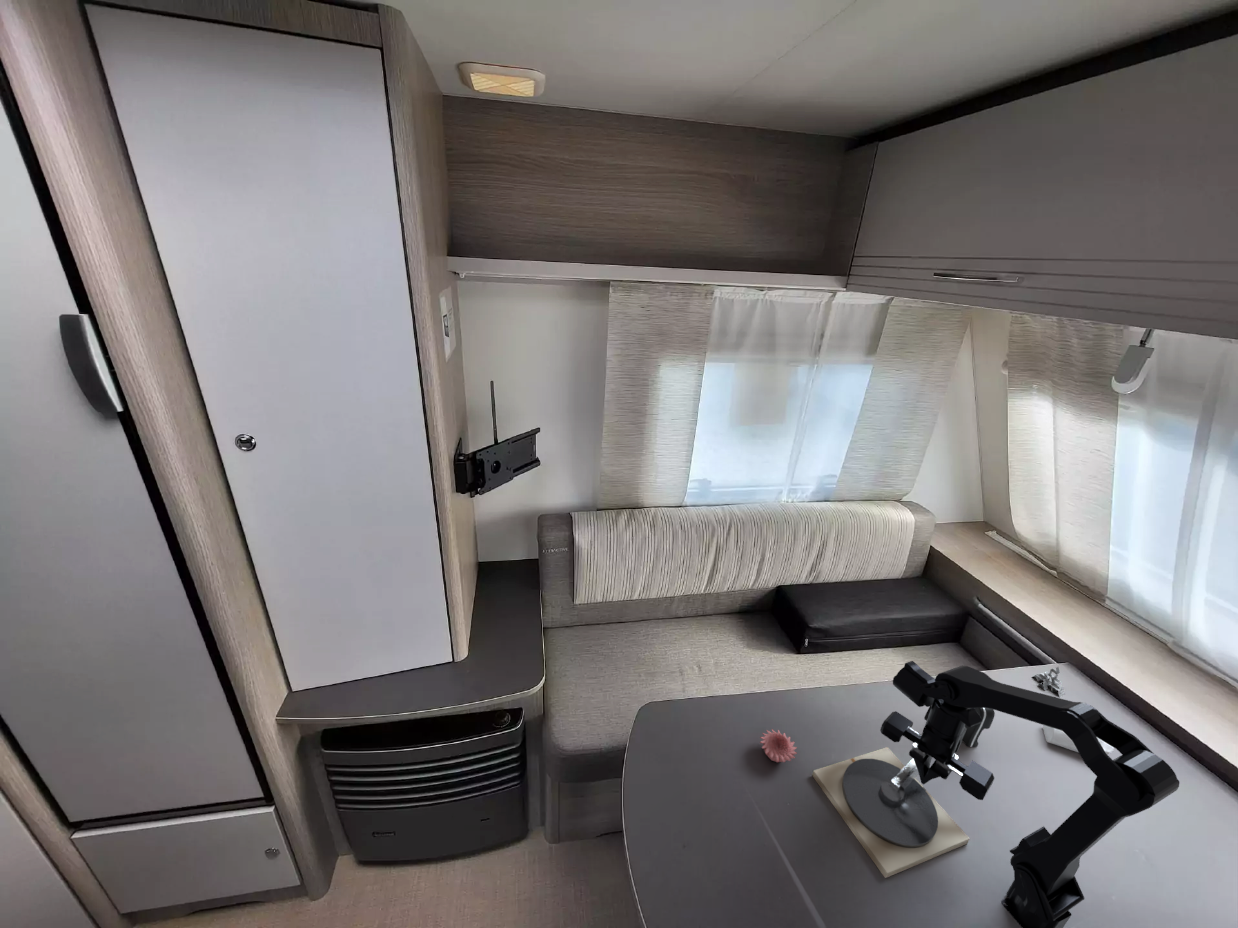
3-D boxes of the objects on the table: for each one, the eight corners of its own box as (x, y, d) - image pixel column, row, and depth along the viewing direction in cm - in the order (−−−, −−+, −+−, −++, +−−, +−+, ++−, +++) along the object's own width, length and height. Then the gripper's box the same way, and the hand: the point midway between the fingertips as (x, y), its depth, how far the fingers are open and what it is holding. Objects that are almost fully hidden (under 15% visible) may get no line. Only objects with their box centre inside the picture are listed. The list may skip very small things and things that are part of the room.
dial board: (967, 843, 96) (970, 837, 96) (885, 877, 90) (887, 872, 89) (885, 751, 114) (887, 746, 113) (812, 775, 107) (813, 769, 107)
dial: (909, 867, 90) (917, 849, 88) (825, 789, 103) (830, 771, 101) (956, 808, 101) (965, 790, 99) (875, 744, 113) (881, 727, 111)
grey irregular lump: (1009, 680, 136) (1019, 658, 133) (1029, 672, 140) (1040, 651, 137) (1045, 706, 129) (1057, 683, 126) (1066, 697, 132) (1078, 675, 129)
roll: (1113, 770, 113) (1124, 753, 110) (1046, 747, 117) (1056, 729, 115) (1103, 749, 118) (1113, 732, 115) (1040, 727, 122) (1049, 710, 120)
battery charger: (983, 749, 116) (1000, 712, 111) (966, 748, 116) (983, 711, 111) (963, 723, 122) (979, 687, 118) (948, 722, 122) (963, 686, 118)
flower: (786, 739, 115) (790, 722, 113) (800, 773, 108) (805, 754, 105) (752, 740, 114) (756, 722, 112) (763, 774, 107) (768, 755, 105)
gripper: (1015, 736, 96) (989, 795, 101) (911, 676, 109) (894, 731, 114) (996, 768, 89) (969, 829, 94) (888, 700, 102) (870, 757, 108)
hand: (923, 782), depth 103 cm, fingers closed
